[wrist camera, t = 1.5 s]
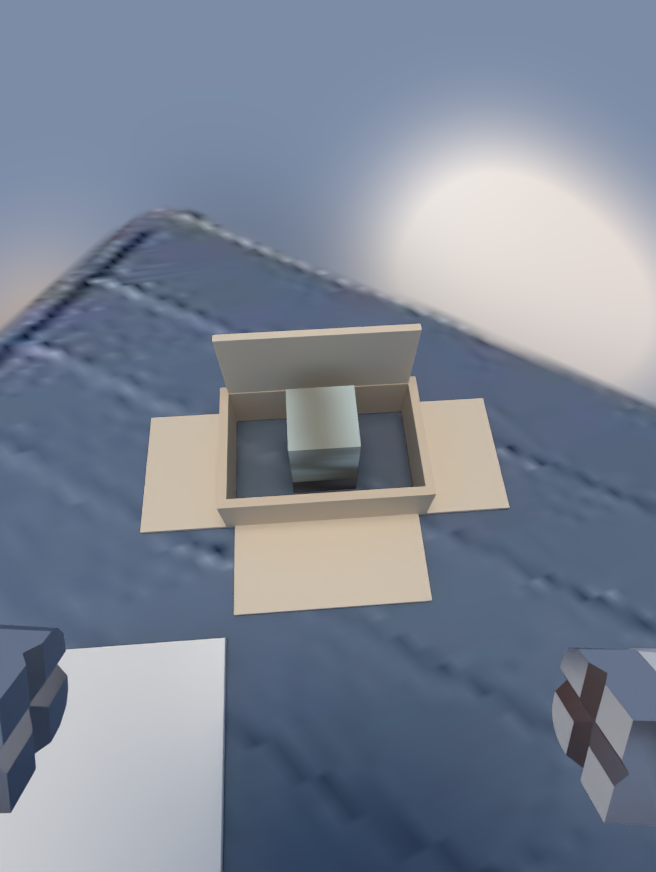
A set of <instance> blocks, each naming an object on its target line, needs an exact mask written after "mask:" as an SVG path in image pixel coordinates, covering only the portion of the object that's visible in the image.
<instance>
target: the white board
mask: <svg viewBox="0 0 656 872" xmlns="http://www.w3.org/2000/svg"><path fill="white" fill-rule="evenodd" d="M226 646H227V639H226V638H216V639H203V640H189V641H176V642H163V643H149V644H136V645H122V646H109V647H96V648H82V649H69V650H66V652H65V653H64V655H63V656H62V658H61V659H60V661H59V662H58V665H59V666H60V668H61V669H62V670H63V671H64V672H65V673H66V674H67V676H68V696H67V705H66V708H65V711H64V715H63V718H62V721H61V724H60V727H59V729H58V730H57V732H56V734H55V736H54V738H53V740H52V742H51V743H49V744H48V745H47V746H45V747H44V748H42V749H41V750H39V751H38V752H37V753H35V763H36V770H35V772H34V774H33V775H32V777H31V779H30V781H29V782H28V784H27V786H26V788H25V789H24V791H23V793H22V795H21V796H20V798H19V800H18V802H17V803H16V805H15V807H14V809H13V810H12V812H11V813H0V872H223V815H224V759H225V703H226Z"/></svg>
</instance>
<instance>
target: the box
mask: <svg viewBox="0 0 656 872" xmlns="http://www.w3.org/2000/svg"><path fill="white" fill-rule="evenodd" d="M286 412H287V437H288V454H289V461H290V467H291V474H292V480H293V487H294V493H296V492H311V491H327V490H342V489H355V488H356V481H357V473H358V465H359V458H360V450H361V442H360V433H359V424H358V415H357V406H356V397H355V389H354V385H350V386H333V387H316V388H299V389H286Z"/></svg>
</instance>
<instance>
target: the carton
mask: <svg viewBox="0 0 656 872" xmlns="http://www.w3.org/2000/svg"><path fill="white" fill-rule="evenodd" d="M421 331H422V329H421V324H407V325H389V326H370V327H352V328H333V329H315V330H297V331H278V332H260V333H241V334H223V335H212V343H213V346H214V349H215V352H216V356H217V359H218V362H219V365H220V368H221V372H222V375H223V378H224V381H225V384H226V387H224V388H220V411H219V414H210V415H193V416H177V417H160V418H151V428H150V438H149V448H148V459H147V469H146V479H145V489H144V499H143V509H142V520H141V530H140V533H141V534H143V533H158V532H173V531H188V530H202V529H217V528H232V527H235V570H234V615H235V616H236V615H250V614H264V613H277V612H291V611H305V610H318V609H332V608H345V607H359V606H373V605H386V604H400V603H414V602H427V601H432V598H431V591H430V585H429V579H428V572H427V566H426V560H425V553H424V547H423V541H422V534H421V528H420V522H419V515H425V514H440V513H455V512H470V511H484V510H499V509H509V503H508V499H507V495H506V491H505V487H504V483H503V479H502V475H501V471H500V467H499V462H498V458H497V454H496V450H495V446H494V442H493V438H492V434H491V430H490V426H489V421H488V417H487V413H486V409H485V405H484V401H483V398H478V399H462V400H445V401H428V402H420V400H419V394H418V389H417V383H416V377H415V376H414V377H410V374H411V370H412V366H413V362H414V358H415V355H416V351H417V347H418V343H419V339H420V335H421ZM350 385H354V389H355V397H356V406H357V414H369V413H386V412H401V413H402V419H403V426H404V432H405V438H406V445H407V451H408V457H409V464H410V470H411V476H412V483H413V487H406V488H391V489H376V490H360V491H345V492H330V493H315V494H299V495H284V496H269V497H253V498H238V499H236V455H237V421H253V420H269V419H286V418H287V412H286V389H299V388H316V387H333V386H350Z"/></svg>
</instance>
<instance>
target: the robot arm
mask: <svg viewBox="0 0 656 872" xmlns="http://www.w3.org/2000/svg"><path fill="white" fill-rule="evenodd" d="M65 652H66V649H65V641H64V633H63V632H62V631H61V630H60V629H59V628H48V627H31V626H14V625H0V813H11V812H12V810H13V809H14V807H15V805H16V803H17V802H18V800H19V798H20V796H21V795H22V793H23V791H24V789H25V788H26V786H27V784H28V782H29V781H30V779H31V777H32V775H33V774H34V772H35V770H36V763H35V753H37V752H38V751H39V750H41V749H42V748H44V747H45V746H47V745H48V744H49V743H51V742H52V740H53V738H54V736H55V734H56V732H57V730H58V729H59V727H60V724H61V721H62V718H63V715H64V711H65V708H66V705H67V696H68V676H67V674H66V673H65V672H64V671H63V670H62V669H61V668H60V666H59V665H58V662H59V661H60V659H61V658H62V656H63V655H64V653H65ZM560 669H561V671H562V672H563V674H564V676H565V678H566V681H565V682H564V683H563V684H562V685H561V686H560V687H559V688H558V689H557V690H556V691H555V694H554V699H553V705H552V715H553V725H554V729H555V732H556V735H557V738H558V741H559V743H560V745H561V747H562V748H563V750H564V752H565V754H566V755H567V756H568V757H569V758H571V759H572V760H573V761H574V762H576V763H577V764H578V765H580V766H581V767H582V768H583V770H582V775H581V780H580V781H581V783H582V785H583V786H584V788H585V790H586V792H587V793H588V795H589V797H590V799H591V800H592V802H593V804H594V806H595V807H596V809H597V811H598V813H599V815H600V816H601V818H602V820H603V822H604V823H615V824H635V825H656V649H648V648H628V649H597V648H568V650H567V651H566V652H565V654H564V655H563V659H562V663H561V667H560Z"/></svg>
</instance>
